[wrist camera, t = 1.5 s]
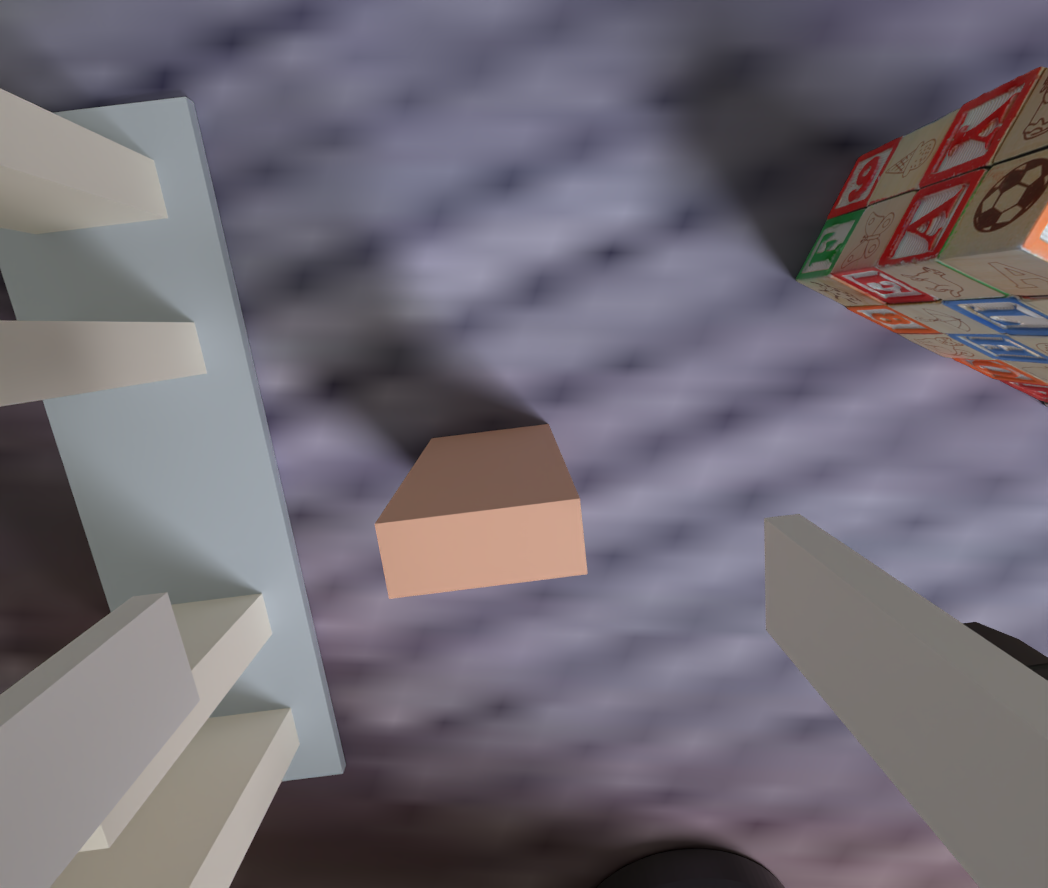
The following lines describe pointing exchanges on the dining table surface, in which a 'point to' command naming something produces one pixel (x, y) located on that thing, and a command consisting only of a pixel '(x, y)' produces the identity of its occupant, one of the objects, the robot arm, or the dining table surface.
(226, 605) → the domino
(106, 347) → the domino
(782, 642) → the robot arm
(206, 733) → the domino
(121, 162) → the end domino
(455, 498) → the domino
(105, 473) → the mat
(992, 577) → the dining table surface
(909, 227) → the stack of blocks
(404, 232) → the dining table surface
